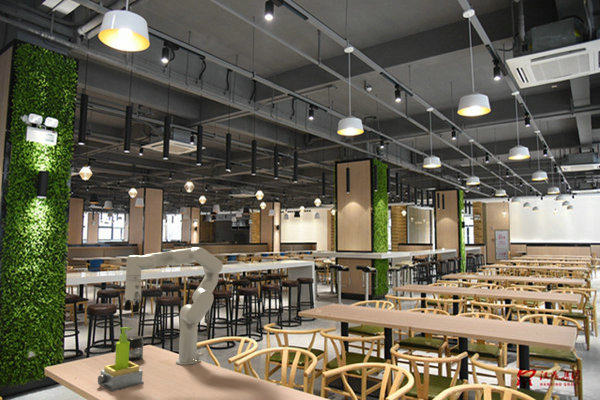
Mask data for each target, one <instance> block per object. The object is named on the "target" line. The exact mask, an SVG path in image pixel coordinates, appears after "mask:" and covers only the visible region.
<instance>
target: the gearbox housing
mask: <svg viewBox="0 0 600 400" xmlns="http://www.w3.org/2000/svg"><path fill="white" fill-rule="evenodd" d="M103 368H104V369H101V370H100V375H98V377H97V383H98V385H100V386H102V387H104V388H105V389H106V390H108V391H110V392H115V391H119V390H123V389H127V388H131V387H136V386H139V385H143V384H144V381H143V371H144V370H143V369H140V365H139V364H137V363H134V362H133V361H129V364H128V368H125V369H120V370H115V363H114V364H108V365H104V367H103Z"/></svg>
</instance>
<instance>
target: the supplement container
mask: <svg viewBox="0 0 600 400" xmlns="http://www.w3.org/2000/svg"><path fill="white" fill-rule="evenodd" d="M143 340H144V336H142V335H130V336H127V341H129V342H130V344H129V361H130V362H133V361H139V360H141V359H143V356H144V341H143Z"/></svg>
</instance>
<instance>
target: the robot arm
mask: <svg viewBox="0 0 600 400" xmlns="http://www.w3.org/2000/svg"><path fill="white" fill-rule="evenodd" d="M192 263H197V264H199V265H200V266H202V269H203V270H204V275H203V278H202V280H201V282H200V284H199V285H198V286H197V288H196V289H195V291H193V294H192V297H191V298H192V301H193V303H192V304H190V303H188V304H185V305H183V306H182V307H181V308H180V311H179V327H180V328H179V344H178V345H179V349H178V350H179V351H178V358H177V359H175V364H176V365H180V366H191V365H195V364H198V363H199V362H200V359H199V358H200V357H204V355H205V354H204V352H198V351H197V350H198V348H197V347H198V345H197V344H198V324H199V323H200V322H201V321H202V320H203V318H204V317H205V316H206V314H207V313H208V311H209V310H210V308H211V307H212V305H213V302H214V294H213V292H214V290H215V288H216V287H217V285H218V283H219V279H220V276H219V274H220V272H221V271H222V270H223V262H222V261H221V260H220V259H219V258H217V257H216V256H215V255H213V254H212V253H210V251H207V250H206V249H205V248H203V247H197V246H195V247H187V248H181V249H174V250H169V251H168V250H166V251H162V252H156V253H155V252H153V253H146V254H144V255H138V254H132V255H128V256H127V258H126V265H125V266H126V268H125V269H126V270H125V282H126V283H125V291H124V311H131V309H132V314H136V313H140V304H141V299H142V283H141V281H142V269H147V270H151V269H154V268H156V267H160V266H180V265H185V264H192ZM193 359H194V360H193ZM195 360H197V361H195Z"/></svg>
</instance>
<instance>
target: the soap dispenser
mask: <svg viewBox="0 0 600 400" xmlns="http://www.w3.org/2000/svg"><path fill="white" fill-rule="evenodd" d="M132 329H133V327H129V326H124V327H123V326H122V327H119V330H121V333H120V334H119V338H118V339H119V340H118V341H116V344H115V360H114V361H115V362H114V364H115V370H120V369H125V368H128V364H129V344H130V342H129V341H127V337H128V334H127V333H126V330H128V331H130V330H132Z"/></svg>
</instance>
